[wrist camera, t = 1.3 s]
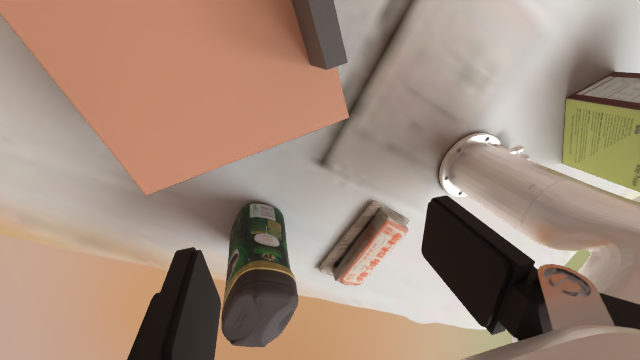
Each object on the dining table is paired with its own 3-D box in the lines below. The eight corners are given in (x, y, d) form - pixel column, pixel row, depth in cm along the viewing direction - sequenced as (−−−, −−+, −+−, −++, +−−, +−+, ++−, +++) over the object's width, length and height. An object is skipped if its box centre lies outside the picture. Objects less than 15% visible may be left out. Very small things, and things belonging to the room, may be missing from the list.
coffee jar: (269, 251, 47) (277, 357, 31) (225, 242, 44) (209, 354, 28) (290, 208, 44) (312, 301, 28) (244, 195, 41) (238, 291, 24)
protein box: (561, 164, 54) (662, 202, 41) (564, 98, 47) (691, 117, 33) (605, 140, 54) (722, 170, 41) (616, 69, 46) (764, 78, 33)
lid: (286, -117, 19) (302, -196, 13) (346, 115, 28) (372, 133, 22) (-15, -19, 18) (-157, -56, 11) (149, 190, 26) (118, 232, 20)
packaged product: (382, 212, 43) (420, 231, 47) (371, 197, 47) (406, 217, 51) (323, 285, 48) (362, 297, 52) (317, 266, 52) (353, 279, 56)
